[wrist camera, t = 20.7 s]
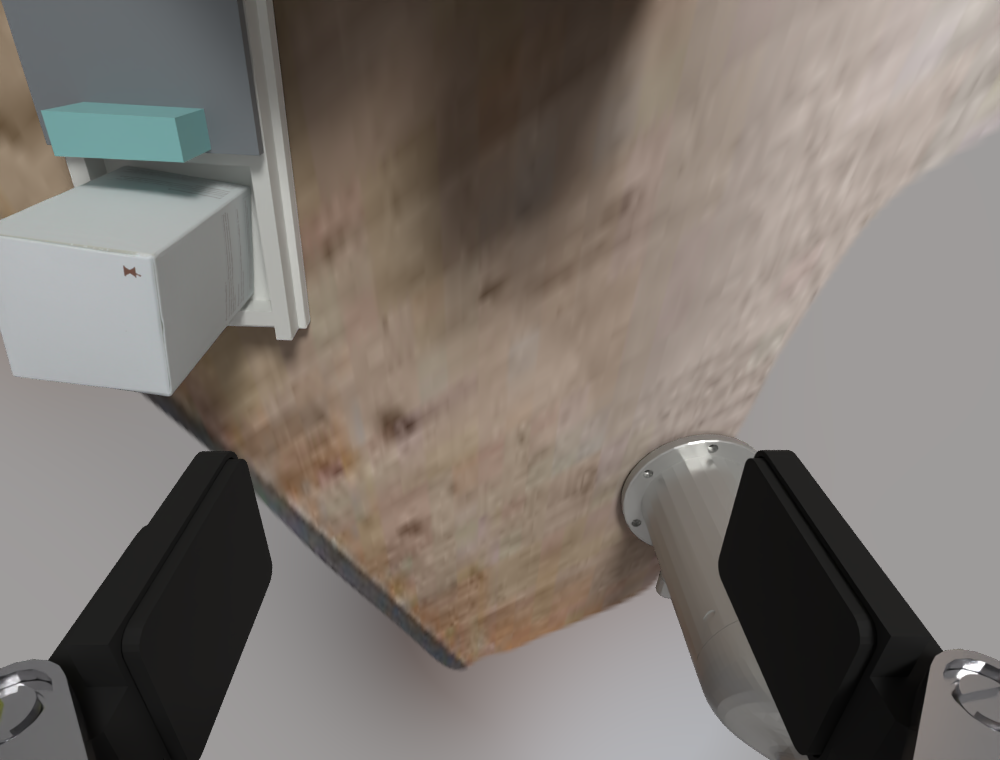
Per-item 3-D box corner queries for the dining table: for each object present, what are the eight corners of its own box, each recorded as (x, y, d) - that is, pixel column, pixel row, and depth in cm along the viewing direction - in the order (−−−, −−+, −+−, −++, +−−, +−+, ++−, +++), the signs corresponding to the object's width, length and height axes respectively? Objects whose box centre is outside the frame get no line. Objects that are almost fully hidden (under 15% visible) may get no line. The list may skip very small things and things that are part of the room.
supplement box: (123, 161, 35) (-37, 224, 24) (254, 184, 36) (157, 255, 25) (138, 278, 38) (6, 379, 28) (256, 296, 39) (173, 400, 28)
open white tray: (310, 320, 42) (299, 340, 39) (134, 314, 41) (111, 334, 38) (269, -21, 31) (251, -25, 29) (33, -38, 31) (-7, -43, 28)
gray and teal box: (263, 152, 33) (237, 169, 29) (56, 142, 32) (2, 157, 28) (234, -58, 28) (197, -70, 24) (-12, -76, 27) (-87, -91, 23)
